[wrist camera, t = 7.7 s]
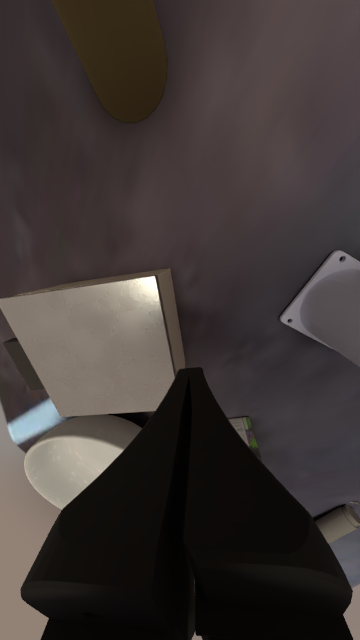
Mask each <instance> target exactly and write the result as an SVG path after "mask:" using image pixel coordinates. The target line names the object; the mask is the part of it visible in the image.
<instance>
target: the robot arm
mask: <svg viewBox="0 0 360 640" xmlns="http://www.w3.org/2000/svg"><path fill="white" fill-rule="evenodd" d="M341 257H342V260H341V261H339V259H340V258H341ZM288 319H291V320H290V321H289V322H287V321H288ZM280 321H281V322H283V323H284V324H286V325H288V326H290V327H292V328H294V329H296V330H298V331H299V332H301V333H303V334H305V335H307V336H309V337H311V338H313V339H314V340H316V341H318V342H320V343H322V344H324V345H326V346H328V347H329V348H331V349H333V350H335V351H337V352H338V353H340V354H341V355H343V356H344V357H346V358H347V359H348V360H350V361H351V362H353V363H354V364H356V365H357V366H358V367H360V262H359V261H358V260H356V259H355V258H353V257H351V256H350V255H348V254H346V253H345V252H343V251H334V252H332V253H331V254H330V256H329V257H328V258H327V259H326V261H325V262H324V263H323V264H322V265H321V267H320V268H319V269H318V270H317V272H316V273H315V274H314V275H313V277H312V278H311V279H310V280H309V281H308V283H307V284H306V285H305V286H304V288H303V289H302V290H301V291H300V293H299V294H298V295H297V296H296V297H295V299H294V300H293V301H292V302H291V304H290V305H289V306H288V307H287V308H286V310H285V311H284V312H283V313H282V315H281V316H280ZM194 578H195V581H194ZM352 592H353V591H352V588H351V586H350V584H349V582H348V580H347V578H346V575H345V573H344V571H343V569H342V567H341V565H340V564H339V562H338V560H337V558H336V556H335V555H334V553H333V551H332V549H331V547H330V546H329V544H328V542H327V541H326V539H325V537H324V536H323V534H322V532H321V531H320V529H319V528H318V526H317V524H316V523H315V521H314V520H313V518H312V517H311V515H310V514H309V512H308V511H307V510H306V509H305V508H304V507H303V506H302V505H301V504H300V503H299V502H298V501H297V500H296V499H295V498H294V497H293V496H292V495H291V494H290V493H289V492H288V491H287V490H286V488H285V487H284V486H283V485H282V484H281V483H280V482H279V481H278V480H277V479H276V478H275V477H274V475H273V474H272V473H271V472H270V471H269V470H268V469H267V468H266V467H265V465H264V464H263V463H262V462H261V461H260V460H259V458H258V457H257V456H256V455H255V454H254V452H253V451H252V450H251V449H250V448H249V446H248V445H247V444H246V443H245V442H244V440H243V439H242V438H241V436H240V435H239V434H238V432H237V431H236V430H235V428H234V427H233V426H232V424H231V423H230V421H229V420H228V419H227V417H226V416H225V414H224V413H223V411H222V409H221V408H220V406H219V405H218V403H217V401H216V399H215V398H214V396H213V394H212V392H211V390H210V388H209V386H208V384H207V382H206V379H205V377H204V373H203V369H202V368H201V367H198V368H185V369H179V370H178V372H177V374H176V377H175V379H174V381H173V383H172V384H171V386H170V388H169V390H168V392H167V393H166V395H165V397H164V398H163V400H162V402H161V403H160V405H159V406H158V408H157V409H156V411H155V412H154V414H153V415H152V416H151V418H150V419H149V421H148V422H147V423H146V424H145V426H144V427H143V428H142V430H141V431H140V432H139V433H138V434H137V436H136V437H135V438H134V439H133V440H132V442H131V443H130V444H129V445H128V446H127V447H126V448H125V449H124V450H123V452H122V453H121V454H120V455H119V456H118V457H117V458H116V459H115V460H114V461H113V462H112V463H111V464H110V465H109V466H108V467H107V468H106V469H105V470H104V471H103V472H102V473H101V474H100V475H99V476H98V477H97V478H96V479H95V480H94V481H93V482H92V483H91V484H89V485H88V486H87V487H86V488H85V489H84V490H83V491H82V492H81V493H80V494H79V495H77V496H76V497H75V498H74V499H73V500H72V501H71V502H70V503H69V504H67V505H66V506H65V507H64V508H63V509H62V511H61V513H60V514H59V516H58V518H57V520H56V521H55V523H54V525H53V526H52V528H51V530H50V532H49V534H48V537H47V538H46V540H45V542H44V544H43V546H42V548H41V550H40V552H39V554H38V556H37V558H36V560H35V561H34V563H33V565H32V567H31V570H30V571H29V573H28V575H27V577H26V579H25V581H24V583H23V585H22V587H21V597H22V599H23V600H24V601H25V602H26V603H27V604H29V605H30V606H32V607H33V608H35V609H36V610H38V611H39V612H40V613H42V614H43V615H45V616H46V617H48V618H49V620H48V622H47V625H46V627H45V630H44V633H43V635H42V638H41V640H191V639H192V637H193V635H194V632H195V631H196V635H197V636H202V639H203V640H353V638H352V635H351V633H350V630H349V628H348V626H347V623H346V621H345V618H344V616H343V614H344V612H345V611H346V609H347V608H348V606H349V604H350V603H351V599H352Z"/></svg>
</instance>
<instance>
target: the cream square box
mask: <svg viewBox="0 0 360 640" xmlns="http://www.w3.org/2000/svg"><path fill="white" fill-rule="evenodd" d="M151 275H158V280H159V285H160V290H161V295H162V301H163V306H164V311H165V317H166V322H167V327H168V333H169V338H170V343H171V348H172V354H173V359H174V364H175V370H176V374H177V372H178V370H179V369H185V357H184V351H183V344H182V338H181V332H180V326H179V319H178V313H177V307H176V301H175V294H174V288H173V282H172V276H171V269H170V268H167V269H160V270H153V271H147V272H140V273H133V274H126V275H120V276H113V277H106V278H99V279H93V280H86V281H79V282H72V283H67V284H62V285H58V286H54V287H49V288H45V289H41V290H36V291H32V292H27V293H23V294H30V293H36V292H43V291H50V290H57V289H63V288H70V287H77V286H84V285H90V284H97V283H104V282H111V281H117V280H124V279H131V278H138V277H144V276H151ZM23 294H19V295H23Z"/></svg>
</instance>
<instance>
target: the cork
mask: <svg viewBox="0 0 360 640" xmlns="http://www.w3.org/2000/svg"><path fill="white" fill-rule="evenodd" d="M52 2H53V5H54V7H55V9H56V11H57V13H58V15H59V17H60V19H61V21H62V23H63V26H64V28H65V30H66V32H67V34H68V36H69V38H70V40H71V42H72V45H73V47H74V49H75V51H76V53H77V55H78V57H79V59H80V61H81V64H82V66H83V68H84V70H85V72H86V74H87V76H88V78H89V80H90V83H91V85H92V87H93V89H94V91H95V93H96V95H97V97H98V99H99V100H100V102H101V104H102V106H103V107H104V108H105V110H106V111H107V112H108V113H109V114H110V115H111V116H112V117H114V118H116V119H118V120H120V121H122V122H124V123H136V122H138V121H141V120H143V119H146V118H147V117H148V116H149V115H150V114H151V113H152V112H153V111H154V110H155V109H156V107H157V105H158V103H159V101H160V99H161V97H162V96H163V92H164V88H165V84H166V80H167V54H166V49H165V43H164V39H163V35H162V31H161V28H160V24H159V20H158V17H157V13H156V9H155V6H154V2H153V0H52Z"/></svg>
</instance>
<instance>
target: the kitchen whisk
mask: <svg viewBox="0 0 360 640" xmlns="http://www.w3.org/2000/svg"><path fill="white" fill-rule="evenodd" d="M350 503H356V502H350ZM356 504H358V503H356ZM359 505H360V504H359ZM315 523H316V524H317V526H318V528H319V529H320V531H321V532H322V534H323V536H324V537H325V539H326V541H327V542H328V544H329V543H331V542H333V541H335V540H336V539H338V538H340V537H342V536H344V535H346V534H348V533H350V532H352V531H354V530H355V529H357V528H358V526H360V518H359V517H358V515H357V514H356V513H355V511H354V510H353V509H352V508H351V507H350V506H348V505H344V506H343V507H342V506H340V507H338V508H337V509H335V510H333V511H332V512H330V513H328V514H327V515H325V516H323V517H322V518H320V519H318V520H317V521H315Z"/></svg>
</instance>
